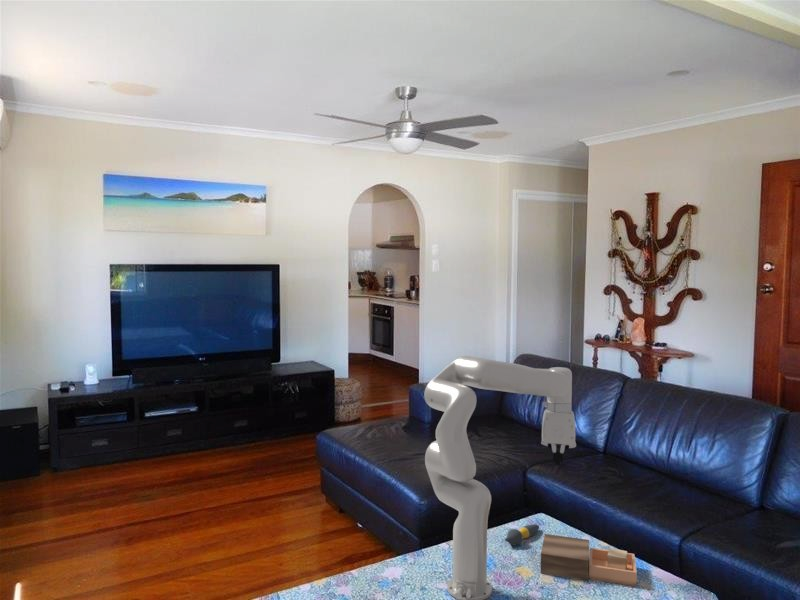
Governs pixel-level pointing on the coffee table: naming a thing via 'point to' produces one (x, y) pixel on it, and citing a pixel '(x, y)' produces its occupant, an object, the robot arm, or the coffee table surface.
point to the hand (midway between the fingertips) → (558, 464)
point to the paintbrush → (521, 534)
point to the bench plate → (565, 557)
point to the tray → (607, 574)
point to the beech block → (617, 559)
